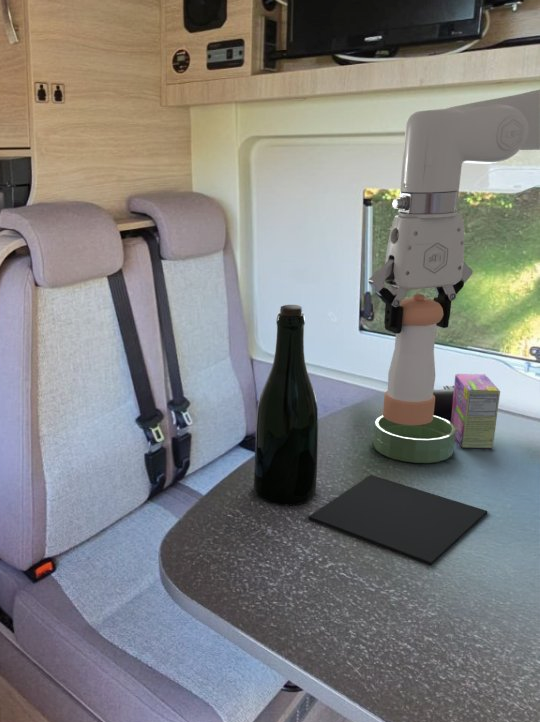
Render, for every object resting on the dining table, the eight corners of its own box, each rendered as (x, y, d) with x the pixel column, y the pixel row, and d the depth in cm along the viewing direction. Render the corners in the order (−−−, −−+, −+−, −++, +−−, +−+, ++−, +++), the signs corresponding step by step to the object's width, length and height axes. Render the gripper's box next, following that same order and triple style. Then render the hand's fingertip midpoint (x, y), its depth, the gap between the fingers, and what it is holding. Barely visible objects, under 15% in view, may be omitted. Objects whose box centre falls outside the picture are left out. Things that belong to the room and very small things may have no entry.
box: (448, 427, 148) (455, 373, 144) (478, 428, 146) (486, 373, 142) (460, 448, 138) (467, 390, 134) (492, 449, 137) (501, 391, 133)
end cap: (417, 425, 150) (420, 394, 147) (409, 412, 156) (412, 383, 154) (468, 425, 148) (472, 394, 146) (458, 412, 155) (461, 383, 153)
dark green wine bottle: (315, 481, 128) (325, 298, 117) (315, 509, 119) (326, 314, 107) (256, 477, 131) (259, 298, 119) (251, 504, 121) (255, 313, 110)
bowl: (465, 447, 138) (468, 423, 137) (432, 471, 129) (435, 446, 128) (395, 429, 148) (397, 406, 146) (359, 451, 139) (361, 427, 138)
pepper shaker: (429, 409, 114) (441, 288, 107) (437, 426, 107) (450, 299, 100) (380, 407, 115) (389, 289, 109) (385, 424, 109) (395, 299, 102)
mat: (487, 513, 115) (487, 510, 115) (431, 565, 102) (431, 562, 102) (370, 477, 129) (371, 474, 128) (308, 518, 116) (308, 516, 116)
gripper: (387, 211, 95) (377, 341, 101) (501, 202, 98) (485, 328, 105) (357, 207, 102) (349, 329, 108) (464, 198, 105) (451, 317, 111)
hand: (416, 327), depth 106 cm, fingers closed on pepper shaker, 7 cm apart
